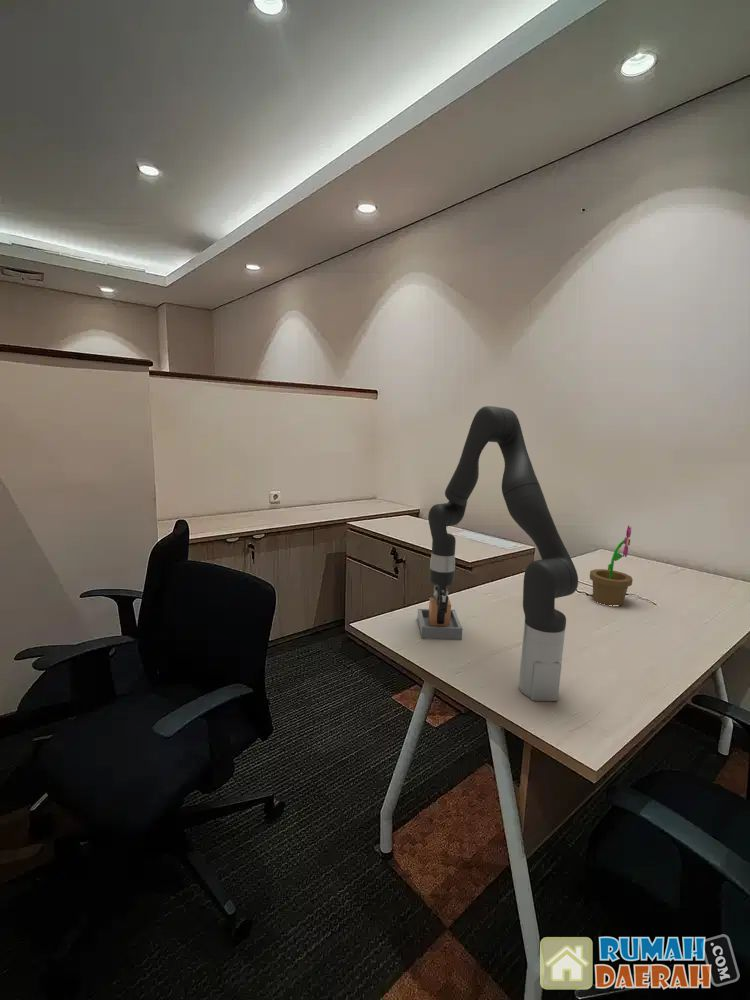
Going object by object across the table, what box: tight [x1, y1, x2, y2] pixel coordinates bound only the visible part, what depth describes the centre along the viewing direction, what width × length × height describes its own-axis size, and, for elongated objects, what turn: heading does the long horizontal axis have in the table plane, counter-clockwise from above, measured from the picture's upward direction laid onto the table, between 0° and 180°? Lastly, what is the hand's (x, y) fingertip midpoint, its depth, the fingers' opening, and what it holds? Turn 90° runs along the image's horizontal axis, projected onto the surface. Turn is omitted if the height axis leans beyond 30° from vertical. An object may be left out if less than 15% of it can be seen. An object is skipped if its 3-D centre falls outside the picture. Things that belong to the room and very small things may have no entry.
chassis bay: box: [417, 608, 463, 641], centre depth 147 cm, size 14×12×4 cm
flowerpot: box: [589, 524, 633, 606], centre depth 173 cm, size 14×14×30 cm
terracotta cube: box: [428, 597, 452, 626], centre depth 147 cm, size 5×6×7 cm
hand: (439, 619), depth 147 cm, fingers closed on terracotta cube, 5 cm apart
